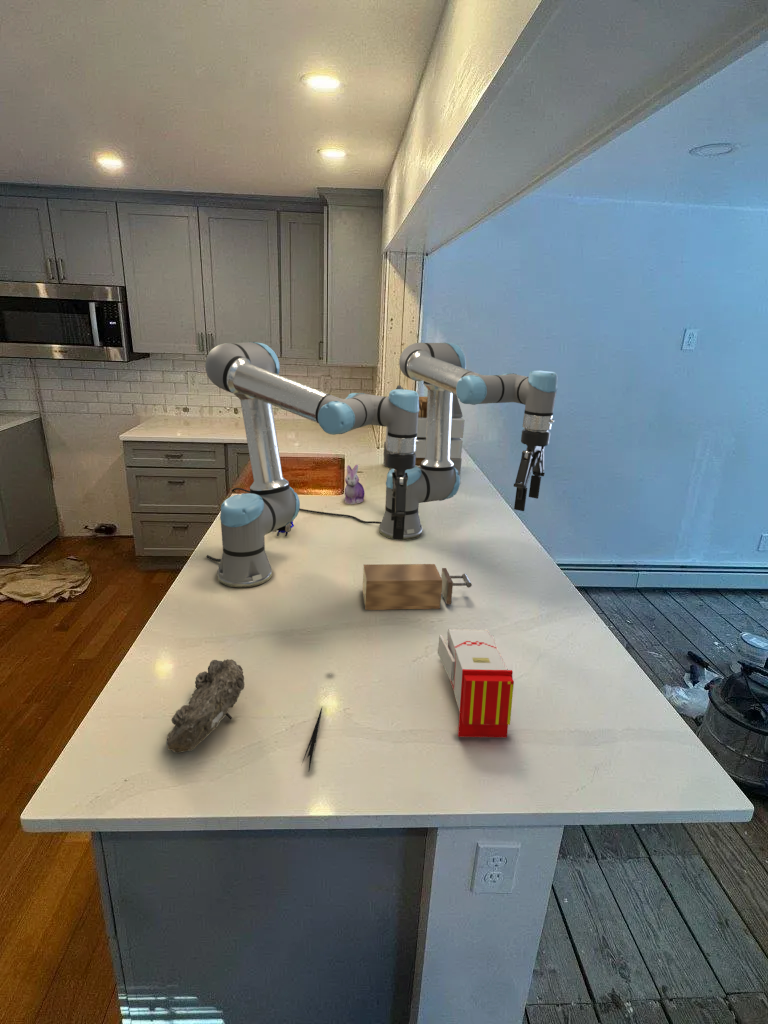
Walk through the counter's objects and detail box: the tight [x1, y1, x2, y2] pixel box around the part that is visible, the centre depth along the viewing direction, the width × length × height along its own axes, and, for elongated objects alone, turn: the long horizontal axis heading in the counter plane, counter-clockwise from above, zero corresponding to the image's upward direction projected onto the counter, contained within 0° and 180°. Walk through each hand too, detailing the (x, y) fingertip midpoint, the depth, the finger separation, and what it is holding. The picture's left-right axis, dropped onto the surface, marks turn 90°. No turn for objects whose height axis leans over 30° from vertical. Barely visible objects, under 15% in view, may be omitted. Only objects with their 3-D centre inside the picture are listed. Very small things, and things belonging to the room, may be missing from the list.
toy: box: [437, 628, 515, 738], centre depth 117 cm, size 12×13×30 cm
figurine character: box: [271, 520, 295, 537], centre depth 197 cm, size 7×8×15 cm
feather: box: [301, 673, 332, 771], centre depth 108 cm, size 2×28×2 cm
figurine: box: [343, 464, 366, 505], centre depth 228 cm, size 9×10×15 cm
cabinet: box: [362, 563, 442, 611], centre depth 153 cm, size 20×10×8 cm, turn 96°
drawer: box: [440, 567, 473, 605], centre depth 154 cm, size 24×9×7 cm, turn 96°
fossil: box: [166, 658, 245, 754], centre depth 106 cm, size 22×10×15 cm
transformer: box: [383, 384, 465, 477], centre depth 268 cm, size 34×33×41 cm
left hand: (397, 529), depth 152 cm, fingers open, 13 cm apart
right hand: (526, 503), depth 161 cm, fingers open, 13 cm apart
